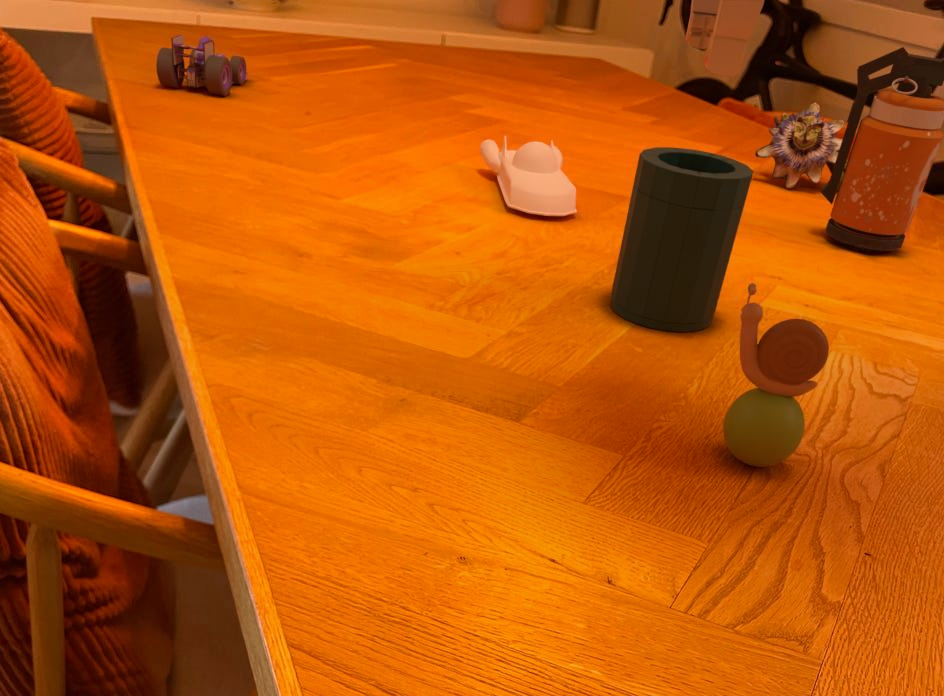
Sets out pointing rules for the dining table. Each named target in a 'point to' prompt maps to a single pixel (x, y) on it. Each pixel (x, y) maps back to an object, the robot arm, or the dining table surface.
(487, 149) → the white domed toy
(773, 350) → the snail figurine
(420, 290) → the dining table surface
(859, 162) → the canister
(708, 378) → the dining table surface
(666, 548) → the dining table surface
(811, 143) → the passion flower
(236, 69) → the toy race car
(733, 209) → the jar
